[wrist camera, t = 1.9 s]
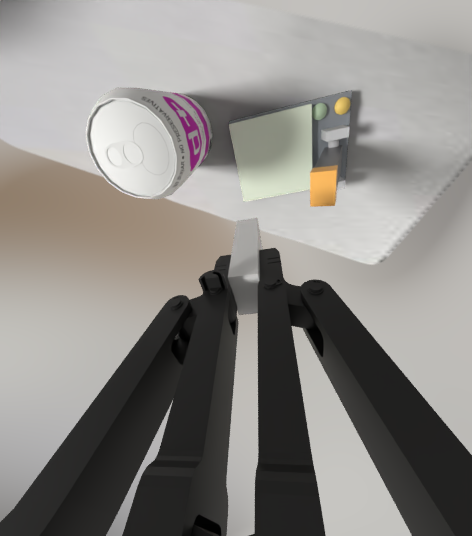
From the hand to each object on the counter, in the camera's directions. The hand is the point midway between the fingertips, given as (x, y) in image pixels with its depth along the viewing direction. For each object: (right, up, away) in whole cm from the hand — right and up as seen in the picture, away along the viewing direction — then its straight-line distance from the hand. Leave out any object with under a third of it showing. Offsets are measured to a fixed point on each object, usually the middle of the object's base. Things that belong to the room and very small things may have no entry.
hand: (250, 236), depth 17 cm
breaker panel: (+6, +13, +13) cm, 20 cm away
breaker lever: (+11, +11, +11) cm, 19 cm away
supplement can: (-8, +16, +13) cm, 22 cm away
